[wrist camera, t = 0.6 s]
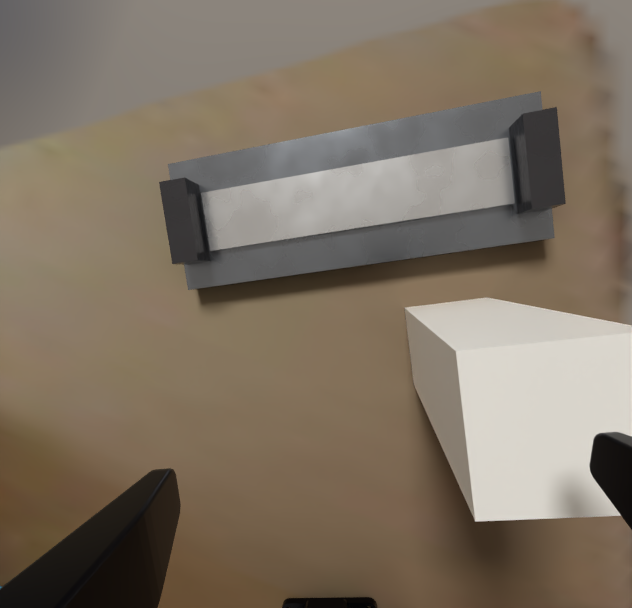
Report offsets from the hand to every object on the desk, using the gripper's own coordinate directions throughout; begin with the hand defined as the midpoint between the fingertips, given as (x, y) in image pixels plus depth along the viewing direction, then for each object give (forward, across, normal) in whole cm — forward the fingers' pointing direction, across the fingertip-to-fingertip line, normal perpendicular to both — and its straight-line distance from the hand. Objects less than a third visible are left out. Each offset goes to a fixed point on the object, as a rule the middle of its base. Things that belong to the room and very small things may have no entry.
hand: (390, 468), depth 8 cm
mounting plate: (+17, -2, -6) cm, 18 cm away
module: (+14, -8, +3) cm, 17 cm away
